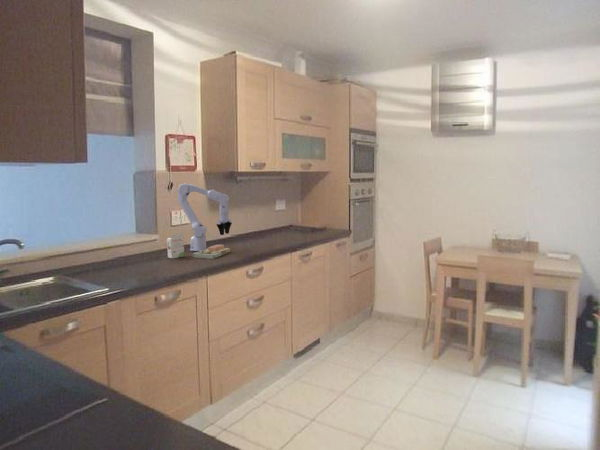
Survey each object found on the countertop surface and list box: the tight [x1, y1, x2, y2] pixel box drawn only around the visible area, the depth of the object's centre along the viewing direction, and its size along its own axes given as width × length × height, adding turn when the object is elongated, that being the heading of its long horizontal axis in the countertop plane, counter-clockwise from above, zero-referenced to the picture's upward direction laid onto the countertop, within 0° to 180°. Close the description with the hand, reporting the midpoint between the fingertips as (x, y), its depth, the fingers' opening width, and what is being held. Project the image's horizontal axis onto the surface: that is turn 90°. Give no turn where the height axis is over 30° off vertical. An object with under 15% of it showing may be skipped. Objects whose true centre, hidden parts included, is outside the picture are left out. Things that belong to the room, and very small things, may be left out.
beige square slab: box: [202, 247, 231, 257], centre depth 276 cm, size 13×12×2 cm
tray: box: [192, 251, 221, 260], centre depth 266 cm, size 14×9×2 cm
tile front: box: [207, 245, 219, 251], centre depth 273 cm, size 5×5×2 cm
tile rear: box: [213, 244, 225, 249], centre depth 279 cm, size 5×5×2 cm
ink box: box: [166, 231, 185, 259], centre depth 264 cm, size 9×5×15 cm, turn 135°
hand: (224, 234), depth 285 cm, fingers open, 6 cm apart
